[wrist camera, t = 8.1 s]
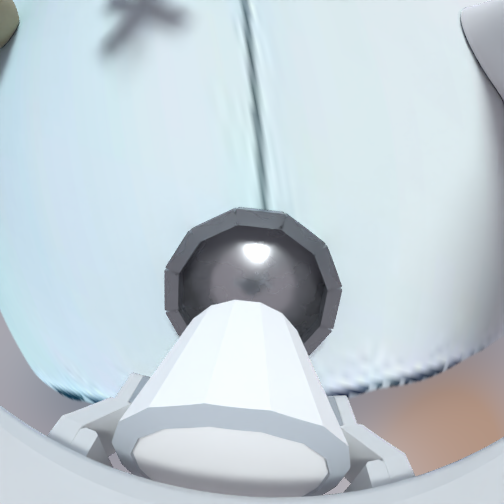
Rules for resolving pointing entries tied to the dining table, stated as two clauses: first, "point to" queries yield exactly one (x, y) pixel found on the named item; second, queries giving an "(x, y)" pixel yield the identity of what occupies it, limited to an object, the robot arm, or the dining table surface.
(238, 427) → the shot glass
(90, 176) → the dining table surface
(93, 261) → the dining table surface
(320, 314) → the bowl
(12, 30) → the tan bowl
